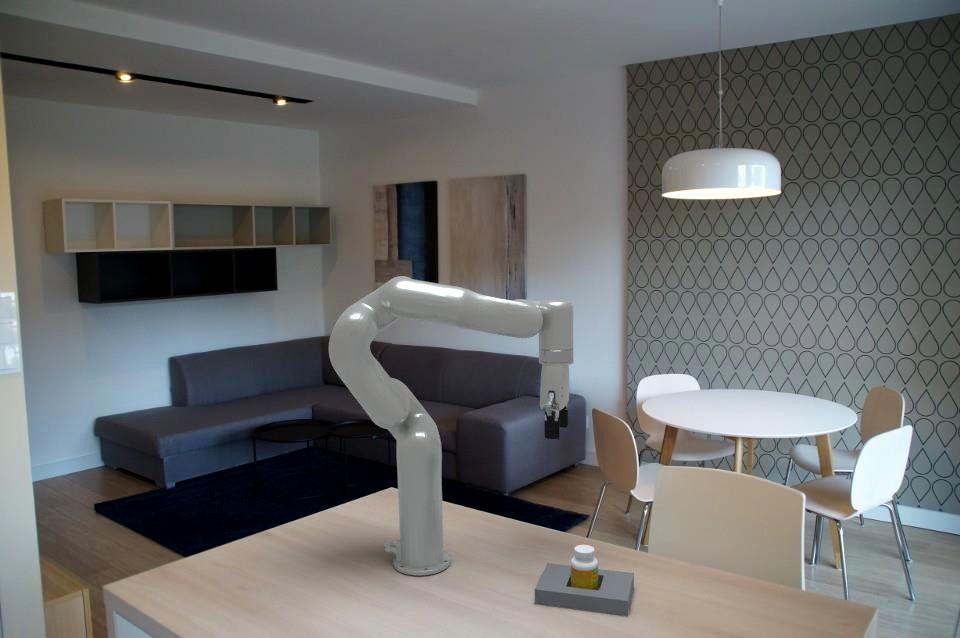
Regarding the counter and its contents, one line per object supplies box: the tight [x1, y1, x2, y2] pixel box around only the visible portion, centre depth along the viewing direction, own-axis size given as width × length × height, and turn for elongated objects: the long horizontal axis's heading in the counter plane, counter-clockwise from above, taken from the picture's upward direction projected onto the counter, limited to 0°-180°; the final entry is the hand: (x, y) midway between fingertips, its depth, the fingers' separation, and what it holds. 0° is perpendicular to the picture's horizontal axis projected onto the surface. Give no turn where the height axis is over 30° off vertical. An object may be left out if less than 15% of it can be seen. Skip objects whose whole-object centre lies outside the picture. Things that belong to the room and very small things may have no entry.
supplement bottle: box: [570, 544, 599, 590], centre depth 149 cm, size 5×5×10 cm
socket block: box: [534, 562, 635, 617], centre depth 149 cm, size 18×12×3 cm, turn 73°
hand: (556, 432), depth 165 cm, fingers open, 9 cm apart
